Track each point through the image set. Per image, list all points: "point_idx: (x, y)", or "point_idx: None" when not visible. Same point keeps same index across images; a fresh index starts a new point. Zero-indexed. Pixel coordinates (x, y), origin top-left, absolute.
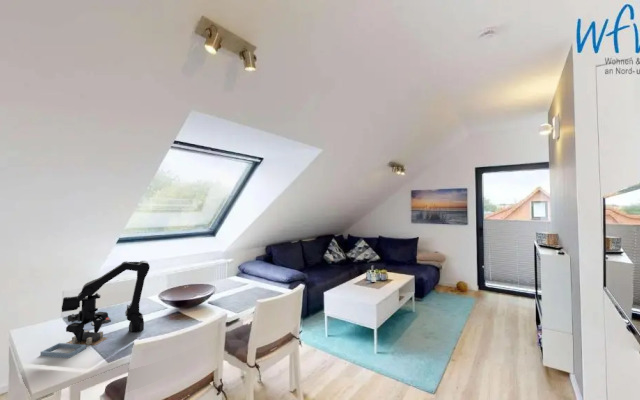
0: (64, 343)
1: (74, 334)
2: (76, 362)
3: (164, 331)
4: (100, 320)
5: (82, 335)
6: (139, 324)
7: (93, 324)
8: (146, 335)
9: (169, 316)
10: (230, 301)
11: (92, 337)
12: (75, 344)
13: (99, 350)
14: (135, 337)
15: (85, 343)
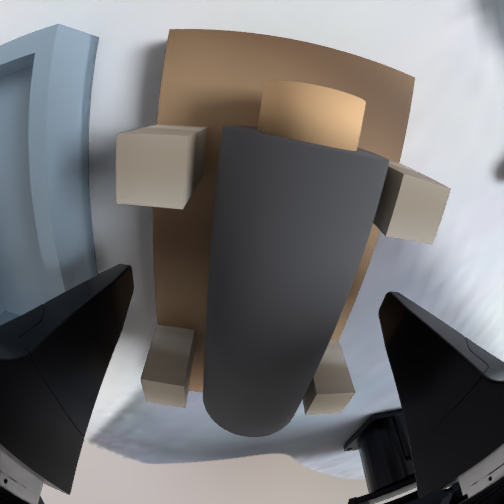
0: (43, 116)
1: (1, 331)
2: None
3: (355, 471)
4: (444, 484)
5: (90, 395)
6: (368, 489)
7: None
8: (332, 461)
9: None
10: None
11: (204, 394)
12: (60, 288)
13: (146, 401)
14: (319, 449)
15: (177, 303)
